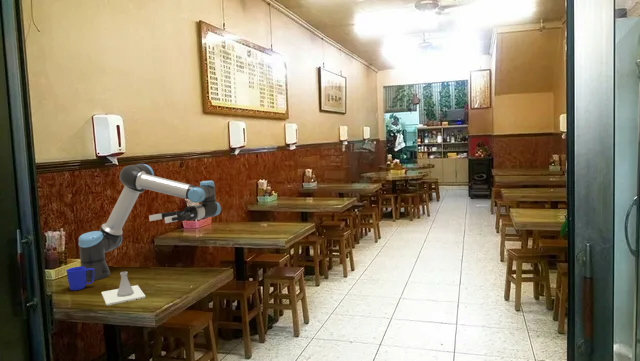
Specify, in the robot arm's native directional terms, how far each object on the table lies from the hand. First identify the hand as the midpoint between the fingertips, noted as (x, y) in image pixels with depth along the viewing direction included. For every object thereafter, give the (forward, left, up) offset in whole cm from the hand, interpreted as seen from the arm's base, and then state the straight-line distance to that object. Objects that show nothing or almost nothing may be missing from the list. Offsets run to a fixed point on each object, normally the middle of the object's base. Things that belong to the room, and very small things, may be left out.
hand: (157, 219), depth 222 cm
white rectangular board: (+7, -19, -32) cm, 38 cm away
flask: (+8, -18, -31) cm, 37 cm away
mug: (-19, -34, -32) cm, 51 cm away
